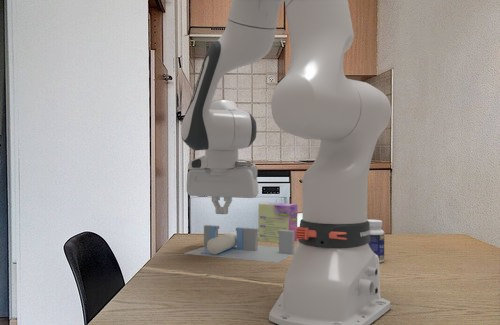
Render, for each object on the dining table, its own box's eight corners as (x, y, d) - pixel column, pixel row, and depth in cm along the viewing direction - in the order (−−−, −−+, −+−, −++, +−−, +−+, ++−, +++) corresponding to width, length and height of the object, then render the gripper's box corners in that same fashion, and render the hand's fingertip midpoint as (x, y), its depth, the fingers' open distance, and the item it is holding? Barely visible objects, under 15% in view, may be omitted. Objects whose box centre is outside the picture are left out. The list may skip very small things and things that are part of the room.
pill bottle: (385, 264, 109) (385, 222, 109) (360, 263, 110) (360, 221, 110) (383, 258, 114) (383, 219, 114) (359, 258, 116) (359, 218, 115)
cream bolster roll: (215, 257, 115) (223, 245, 114) (204, 247, 117) (212, 235, 116) (235, 249, 126) (243, 238, 125) (224, 239, 128) (232, 228, 127)
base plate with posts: (277, 266, 107) (277, 237, 107) (183, 256, 118) (183, 230, 118) (302, 252, 123) (302, 227, 123) (217, 244, 134) (217, 222, 134)
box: (297, 243, 136) (297, 203, 136) (288, 246, 131) (288, 205, 131) (267, 240, 142) (267, 202, 142) (258, 243, 137) (257, 203, 137)
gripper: (262, 162, 120) (262, 214, 120) (195, 161, 129) (195, 210, 129) (252, 162, 115) (252, 217, 115) (183, 161, 123) (183, 213, 123)
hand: (221, 213), depth 122 cm, fingers closed
